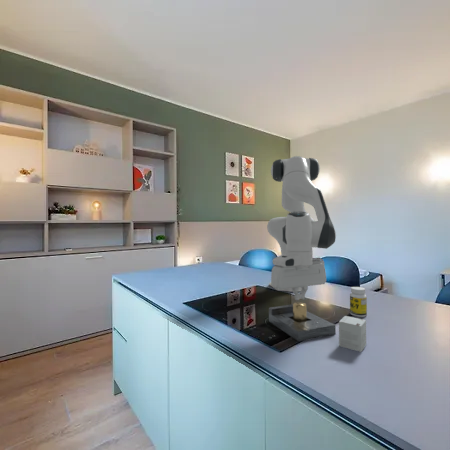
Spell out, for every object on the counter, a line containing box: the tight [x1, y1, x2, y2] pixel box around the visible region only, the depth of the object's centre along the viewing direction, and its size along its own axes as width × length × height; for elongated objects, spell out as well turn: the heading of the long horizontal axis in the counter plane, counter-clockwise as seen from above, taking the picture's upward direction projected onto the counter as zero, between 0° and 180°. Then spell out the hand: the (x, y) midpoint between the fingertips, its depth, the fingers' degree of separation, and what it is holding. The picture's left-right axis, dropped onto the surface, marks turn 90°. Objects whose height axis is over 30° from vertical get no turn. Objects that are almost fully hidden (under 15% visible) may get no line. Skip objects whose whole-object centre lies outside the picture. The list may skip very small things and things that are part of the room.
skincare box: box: [338, 315, 367, 353], centre depth 78 cm, size 6×6×7 cm
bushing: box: [292, 301, 308, 322], centre depth 92 cm, size 4×4×8 cm
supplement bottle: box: [349, 286, 368, 318], centre depth 103 cm, size 6×6×10 cm
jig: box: [268, 303, 337, 342], centre depth 92 cm, size 18×14×5 cm
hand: (299, 299), depth 91 cm, fingers closed
